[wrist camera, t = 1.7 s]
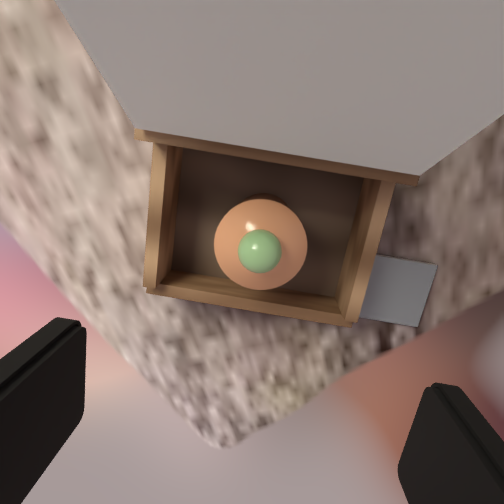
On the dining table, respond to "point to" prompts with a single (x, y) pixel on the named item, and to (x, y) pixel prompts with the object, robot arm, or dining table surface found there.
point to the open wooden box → (299, 201)
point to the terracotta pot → (260, 242)
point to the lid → (304, 73)
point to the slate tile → (397, 290)
